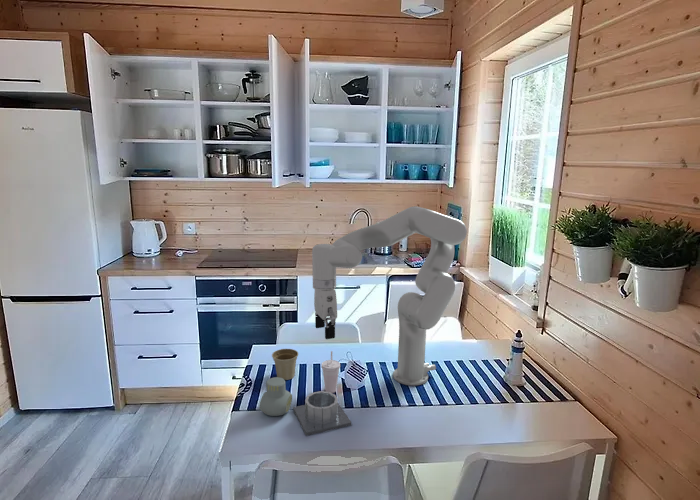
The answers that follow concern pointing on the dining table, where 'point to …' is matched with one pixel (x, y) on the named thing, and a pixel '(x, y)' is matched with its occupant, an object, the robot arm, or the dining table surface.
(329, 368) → the smoothie
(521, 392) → the dining table surface
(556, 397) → the dining table surface
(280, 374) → the flower pot
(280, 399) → the air freshener
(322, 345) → the dining table surface
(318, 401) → the duct collar
